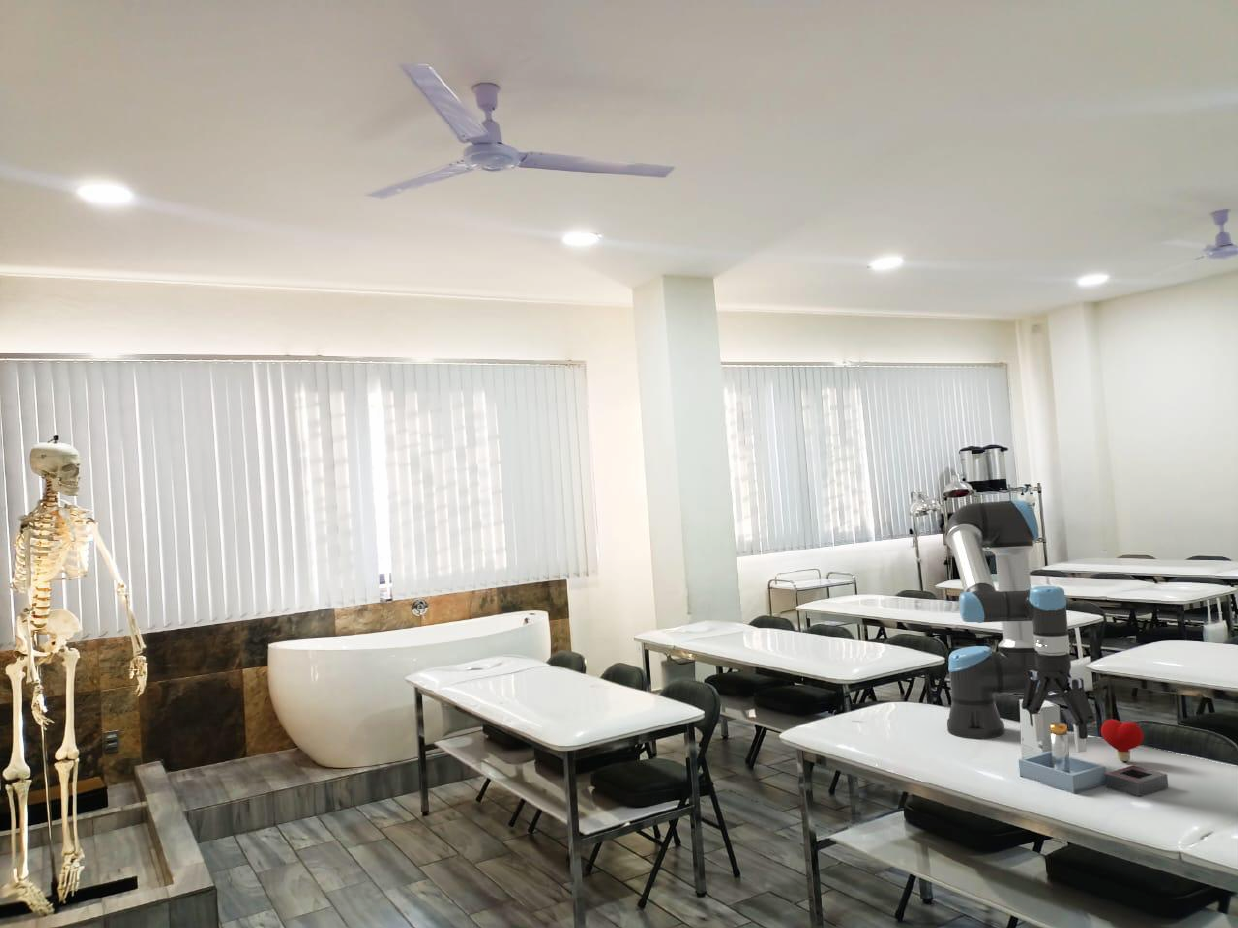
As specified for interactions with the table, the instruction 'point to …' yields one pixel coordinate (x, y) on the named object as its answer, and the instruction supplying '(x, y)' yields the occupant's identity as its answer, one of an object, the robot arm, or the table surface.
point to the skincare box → (1027, 736)
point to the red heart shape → (1122, 737)
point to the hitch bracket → (1136, 780)
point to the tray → (1063, 773)
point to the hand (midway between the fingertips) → (1059, 746)
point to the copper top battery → (1060, 747)
